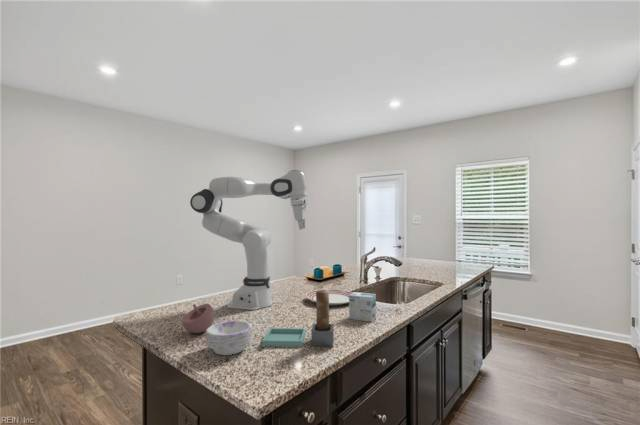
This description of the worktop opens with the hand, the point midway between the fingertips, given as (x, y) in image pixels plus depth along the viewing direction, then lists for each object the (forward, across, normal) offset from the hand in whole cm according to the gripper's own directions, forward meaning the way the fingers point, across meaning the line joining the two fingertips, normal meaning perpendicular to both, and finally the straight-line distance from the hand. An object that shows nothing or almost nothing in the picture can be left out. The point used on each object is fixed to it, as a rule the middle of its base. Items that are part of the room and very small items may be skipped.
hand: (302, 228), depth 160 cm
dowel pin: (+39, +47, +9) cm, 62 cm away
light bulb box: (+42, +19, +25) cm, 52 cm away
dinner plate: (+40, -9, +10) cm, 43 cm away
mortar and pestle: (+35, +38, -41) cm, 66 cm away
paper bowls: (+37, +53, -23) cm, 69 cm away
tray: (+38, +45, -5) cm, 59 cm away
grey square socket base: (+40, +47, +9) cm, 62 cm away
